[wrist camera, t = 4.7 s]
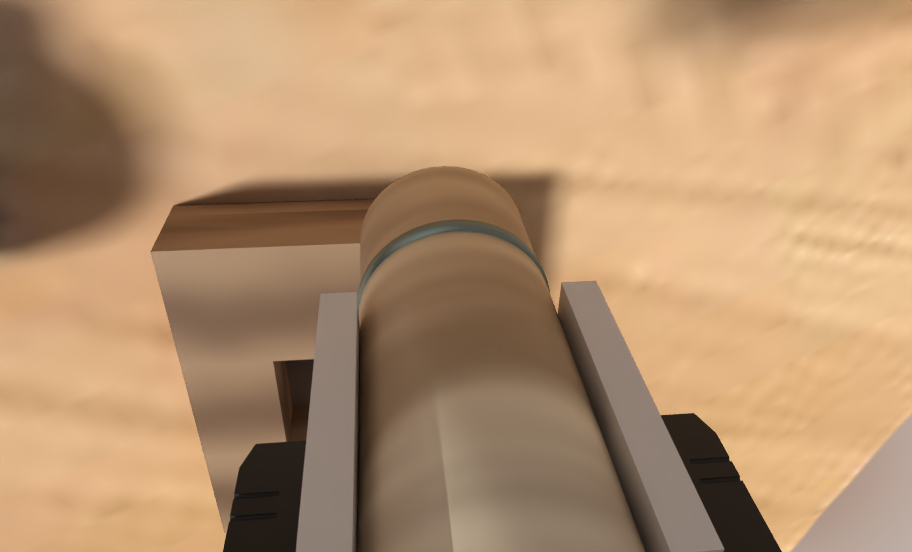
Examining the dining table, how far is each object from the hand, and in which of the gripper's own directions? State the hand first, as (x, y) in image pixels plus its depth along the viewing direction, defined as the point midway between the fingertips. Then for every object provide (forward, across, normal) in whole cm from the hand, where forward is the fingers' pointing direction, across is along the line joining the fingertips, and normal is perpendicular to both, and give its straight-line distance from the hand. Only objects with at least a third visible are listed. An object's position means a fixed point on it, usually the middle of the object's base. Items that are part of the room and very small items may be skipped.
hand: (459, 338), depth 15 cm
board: (+17, -4, -15) cm, 23 cm away
